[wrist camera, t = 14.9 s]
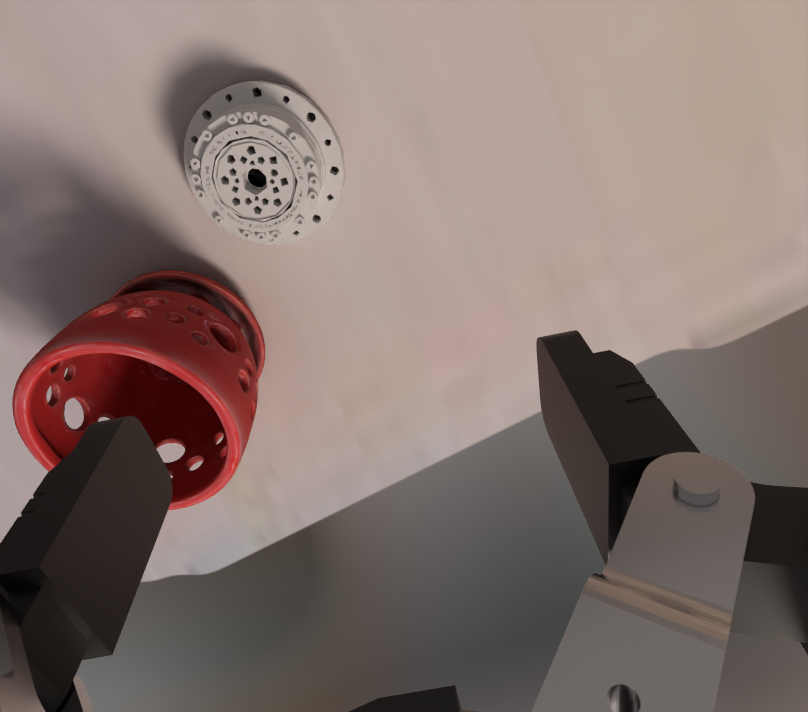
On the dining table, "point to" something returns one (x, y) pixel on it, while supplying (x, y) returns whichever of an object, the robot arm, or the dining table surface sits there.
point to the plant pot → (153, 377)
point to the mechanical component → (264, 162)
